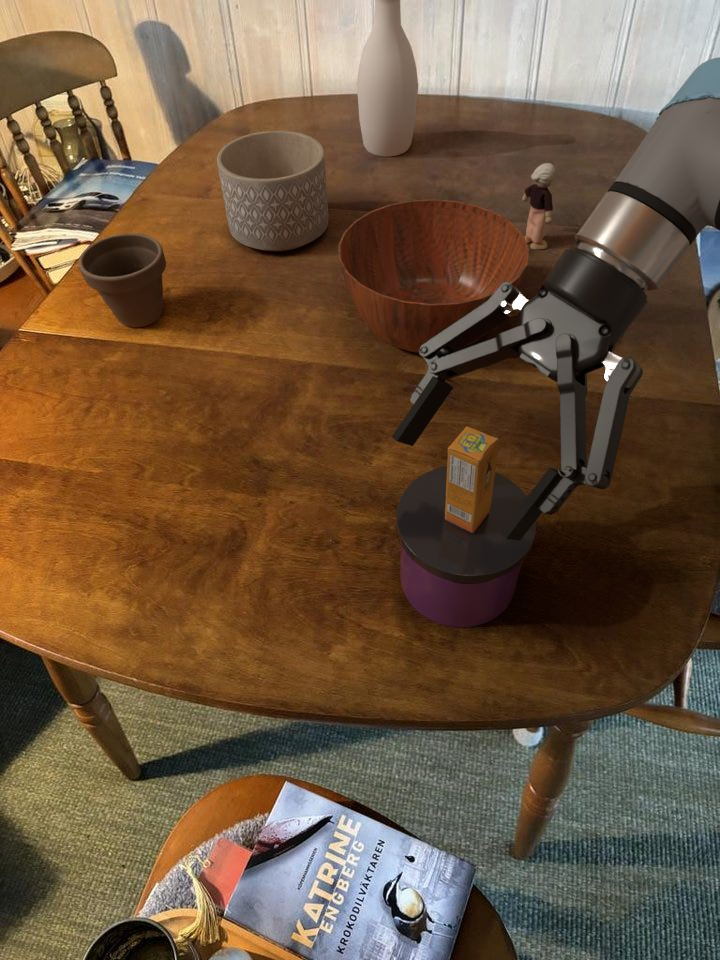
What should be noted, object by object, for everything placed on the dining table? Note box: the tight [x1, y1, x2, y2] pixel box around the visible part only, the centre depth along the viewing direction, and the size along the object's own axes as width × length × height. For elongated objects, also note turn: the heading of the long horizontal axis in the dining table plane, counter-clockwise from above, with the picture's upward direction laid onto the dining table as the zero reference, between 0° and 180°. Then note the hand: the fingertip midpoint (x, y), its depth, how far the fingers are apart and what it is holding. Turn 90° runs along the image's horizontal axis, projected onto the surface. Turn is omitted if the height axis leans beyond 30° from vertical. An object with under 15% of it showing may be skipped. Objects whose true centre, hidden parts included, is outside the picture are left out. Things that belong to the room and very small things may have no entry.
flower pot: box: [78, 232, 167, 328], centre depth 102 cm, size 12×11×10 cm
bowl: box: [337, 198, 530, 354], centre depth 99 cm, size 25×25×11 cm
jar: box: [395, 465, 538, 628], centre depth 71 cm, size 13×13×10 cm
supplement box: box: [445, 426, 499, 533], centre depth 63 cm, size 3×3×10 cm
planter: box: [216, 130, 330, 252], centre depth 115 cm, size 16×16×13 cm
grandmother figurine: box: [522, 162, 556, 251], centre depth 110 cm, size 8×4×13 cm, turn 34°
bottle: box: [356, 0, 419, 158], centre depth 128 cm, size 11×11×25 cm
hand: (452, 486), depth 61 cm, fingers open, 13 cm apart
